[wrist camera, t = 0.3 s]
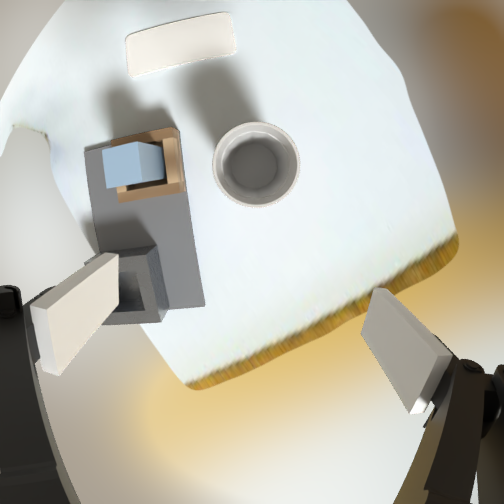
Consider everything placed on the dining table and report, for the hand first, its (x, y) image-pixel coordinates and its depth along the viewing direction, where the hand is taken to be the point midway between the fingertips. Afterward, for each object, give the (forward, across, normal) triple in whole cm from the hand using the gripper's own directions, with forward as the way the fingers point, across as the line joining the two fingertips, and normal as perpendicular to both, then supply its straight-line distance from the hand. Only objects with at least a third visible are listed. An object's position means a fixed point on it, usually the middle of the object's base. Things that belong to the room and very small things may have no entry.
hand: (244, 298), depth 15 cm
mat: (+27, -14, -3) cm, 30 cm away
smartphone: (+27, -13, +23) cm, 38 cm away
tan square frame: (+26, -13, +5) cm, 29 cm away
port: (+26, -15, -11) cm, 31 cm away
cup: (+27, 0, +6) cm, 28 cm away
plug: (+25, -13, +5) cm, 29 cm away
